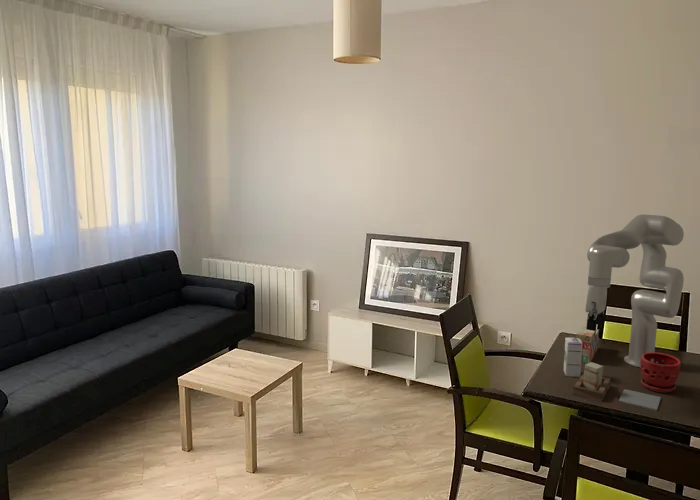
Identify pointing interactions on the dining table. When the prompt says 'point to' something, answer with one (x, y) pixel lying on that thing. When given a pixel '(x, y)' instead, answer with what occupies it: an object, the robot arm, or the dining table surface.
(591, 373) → the skincare box
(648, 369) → the plant pot
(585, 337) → the brown printed cardboard box
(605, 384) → the pocket block
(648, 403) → the mat
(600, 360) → the dining table surface
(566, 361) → the syrup box
